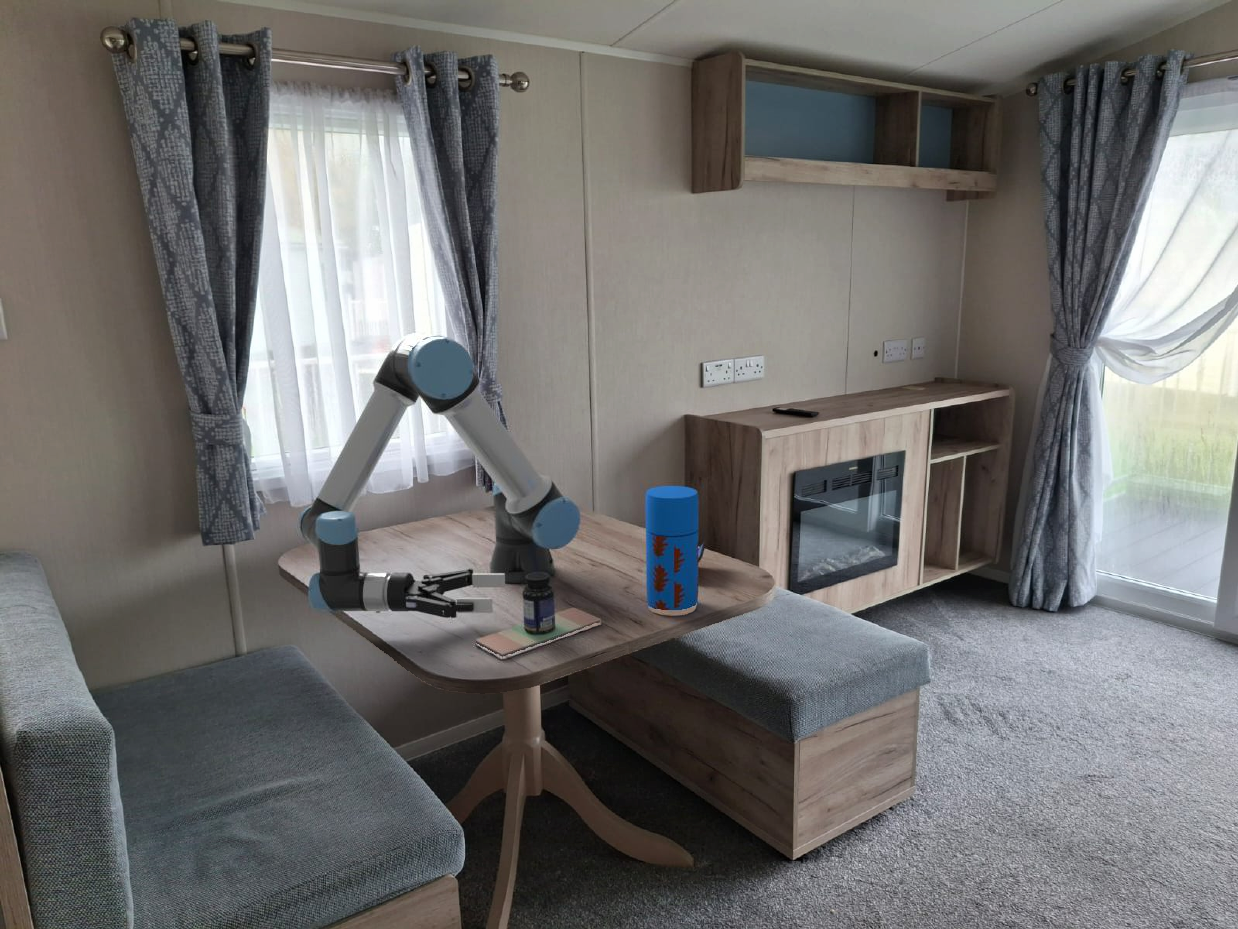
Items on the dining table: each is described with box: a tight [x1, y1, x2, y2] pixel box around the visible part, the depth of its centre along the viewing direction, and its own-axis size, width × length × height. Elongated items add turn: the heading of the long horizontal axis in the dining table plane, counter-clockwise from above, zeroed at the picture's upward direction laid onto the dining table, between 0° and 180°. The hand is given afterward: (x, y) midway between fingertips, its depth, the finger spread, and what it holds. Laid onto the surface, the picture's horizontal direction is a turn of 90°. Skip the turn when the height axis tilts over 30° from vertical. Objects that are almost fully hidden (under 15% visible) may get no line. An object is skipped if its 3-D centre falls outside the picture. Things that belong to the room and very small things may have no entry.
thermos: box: [645, 485, 699, 610], centre depth 187 cm, size 11×11×25 cm
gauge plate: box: [474, 606, 602, 657], centre depth 176 cm, size 9×24×1 cm, turn 132°
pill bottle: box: [522, 572, 556, 634], centre depth 175 cm, size 6×6×11 cm
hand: (498, 592), depth 175 cm, fingers open, 13 cm apart
